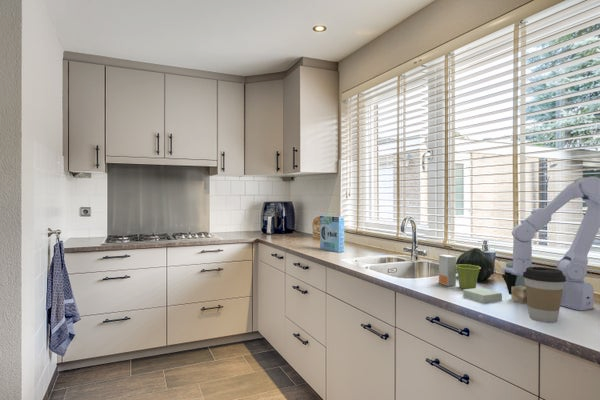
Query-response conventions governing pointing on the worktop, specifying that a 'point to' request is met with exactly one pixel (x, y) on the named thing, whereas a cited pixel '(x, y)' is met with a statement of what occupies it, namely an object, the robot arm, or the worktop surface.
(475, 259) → the squash
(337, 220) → the gum box
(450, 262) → the skincare box
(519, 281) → the cup
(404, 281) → the worktop surface
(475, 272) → the plant pot
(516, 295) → the maple block
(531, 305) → the coffee cup
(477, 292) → the sage block
